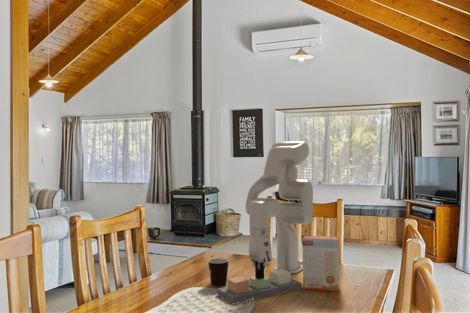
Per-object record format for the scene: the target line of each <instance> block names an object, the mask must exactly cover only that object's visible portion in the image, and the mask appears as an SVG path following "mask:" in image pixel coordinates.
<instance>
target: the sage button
mask: <svg viewBox="0 0 470 313" xmlns="http://www.w3.org/2000/svg"><path fill="white" fill-rule="evenodd" d="M249 282H250V286H252V287H254V288H256V289H261V288H266V287H271V279H270V277H268V276H265V275H264V278H262V279H256V278H255V276H251V277H250V276H249Z"/></svg>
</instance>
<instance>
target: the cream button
mask: <svg viewBox="0 0 470 313" xmlns="http://www.w3.org/2000/svg"><path fill="white" fill-rule="evenodd" d="M269 278H270V279H271V282H273V283H275V284H278V285H281V284H286V283H290V282H291V279H292V274H291V272H289V271H286V270H283V269H279V270H274V269H273V270H270V272H269Z"/></svg>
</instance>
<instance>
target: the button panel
mask: <svg viewBox="0 0 470 313" xmlns="http://www.w3.org/2000/svg"><path fill="white" fill-rule="evenodd" d="M298 290H302V282H300V281H298V280H295V279H293V278H291V282H290V283H286V284H281V285H278V284H275V283H273V282H271V287H266V288H261V289H256V288H254V287H252V286H250V281H249V291H247V292H242V293H237V294H235V293H233V292H231V291H229V290H228V286H222V287H217V290H216V292H217V294H218V295H220V296H221V298H222V297H223V298H224V299H223V298H222V299H223V300H225V299H226V300H225V301H227V300H228V301H227V302H229V303H230V302H231V303H230V304H232V303H235V304H238V303H237V302H240V303H243V302H242V301H244V302H247V301H246V300H249V299H252V298H254V300H257V299H263V298H267V297H271V296H275V295H279V294H285V293H290V292H293V291H298ZM218 295H217V296H218ZM220 296H219V297H220ZM249 301H250V300H249Z"/></svg>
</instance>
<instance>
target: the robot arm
mask: <svg viewBox="0 0 470 313" xmlns="http://www.w3.org/2000/svg"><path fill="white" fill-rule="evenodd" d="M309 153H310V148H309V145H308V143H307V142H306V141H303V140H301V141H300V140H299V141H298V140H297V141H279V142H274V143H273V144H272V145H271V148H270V149H269V151H268V153H267V157H266V163H265V166H264V170H263V175H262V176H260V177H259V178H258V179H256V181H255V182H254V183H253V184H252V185H251V186H250V188H249V190H248V193H247V197H246V201H245V212H246V213H247V214H246V215H248V216H249V240H248V256H249V258H250V260H251V262H252V263H253V266H254V268H255V269H254V273H255V274H254V277H255V278H256V279H262V278H264V276H265V268H266V267H268V266H269V262H272V256H273V255H272V244H271V237H270V236H269V234H270V231H269V228H270V227H269V224H270V223H269V218H275V225H276V226H275V227H276V265H275V266H273V271H274V270H279V269H283V270H286V271H289V272H291V275H293V274H298V273H301V271H302V267H301V265H303V259H302V260H301V259H299V258H298V252H299V251H298V231H297V229H296V227H295V226H294V224H295V225H296V224H298V225H308V224H310V223H311V222H312V219H313V209H314V208H313V207H314V206H313V205H314V187H313V184H312V182H311V181H310V180H308V179H298V168H297V166H298V165H300V164H302V163H303V162H304V161H305V160H306V159H307V158H308V156H309ZM277 185H278V195H279V197H280V198H281V199H282V200H289V201H290V200H291V201H301V202H279V200H277V199H275V198H265V197H259V195H260V194H261V193H263V192H265V190H267V189H270V188H272V187H275V186H277Z"/></svg>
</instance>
